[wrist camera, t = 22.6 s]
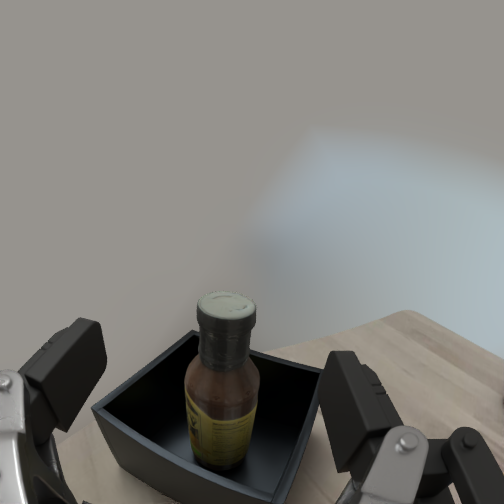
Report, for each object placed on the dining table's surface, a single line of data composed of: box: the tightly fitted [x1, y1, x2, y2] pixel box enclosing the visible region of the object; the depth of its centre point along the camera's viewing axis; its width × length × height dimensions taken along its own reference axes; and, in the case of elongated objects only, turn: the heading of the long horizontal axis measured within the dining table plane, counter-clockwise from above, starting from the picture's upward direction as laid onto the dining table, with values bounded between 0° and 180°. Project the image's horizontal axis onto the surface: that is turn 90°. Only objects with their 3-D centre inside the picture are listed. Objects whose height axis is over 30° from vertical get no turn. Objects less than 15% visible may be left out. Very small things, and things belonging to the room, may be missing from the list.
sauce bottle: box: [184, 291, 260, 471], centre depth 21 cm, size 6×6×20 cm
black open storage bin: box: [91, 330, 324, 504], centre depth 23 cm, size 17×17×11 cm
